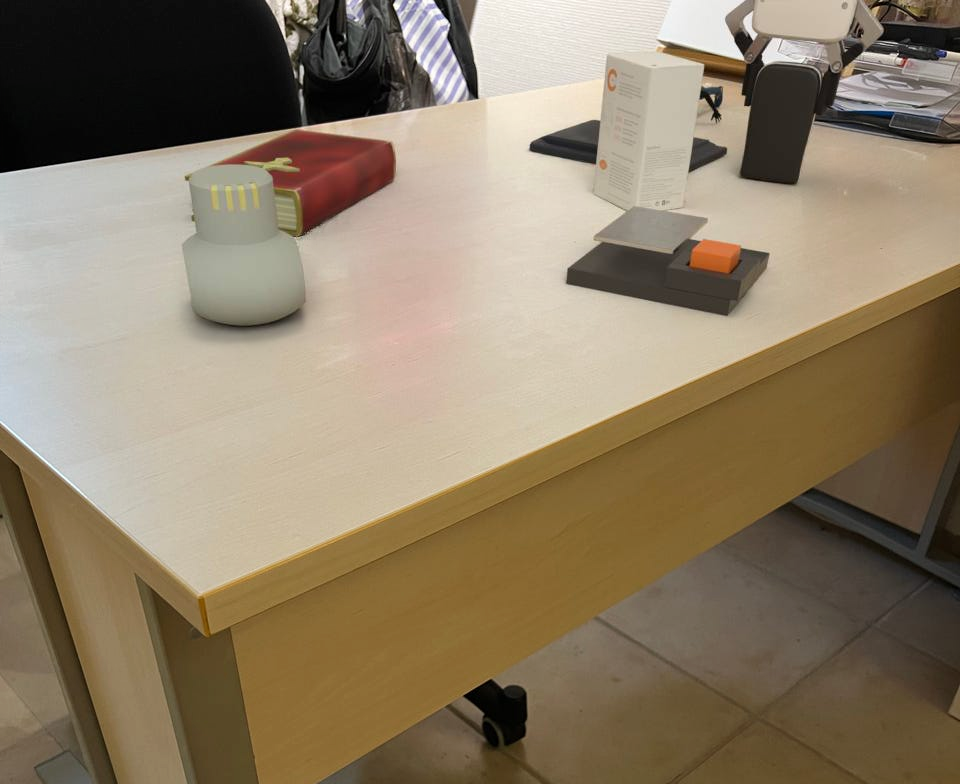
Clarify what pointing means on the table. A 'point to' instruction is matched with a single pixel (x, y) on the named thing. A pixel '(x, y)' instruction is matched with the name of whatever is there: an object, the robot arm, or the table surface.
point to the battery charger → (780, 121)
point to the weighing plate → (651, 230)
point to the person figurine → (706, 92)
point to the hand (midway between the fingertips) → (785, 107)
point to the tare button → (715, 256)
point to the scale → (667, 276)
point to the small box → (647, 129)
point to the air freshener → (240, 249)
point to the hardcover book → (318, 174)
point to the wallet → (584, 145)
